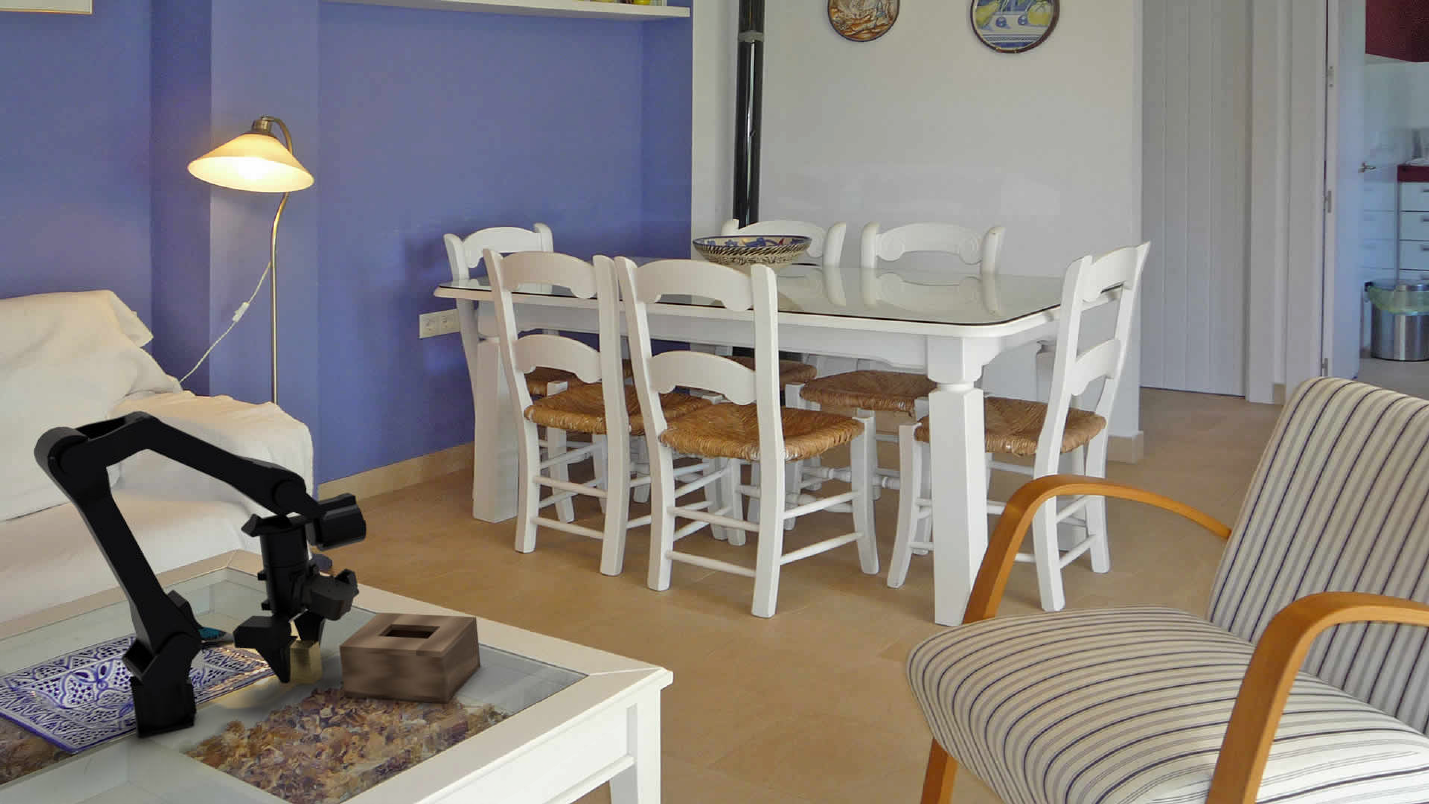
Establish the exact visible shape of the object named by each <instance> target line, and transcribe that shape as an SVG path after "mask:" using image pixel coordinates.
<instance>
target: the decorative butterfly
mask: <svg viewBox="0 0 1429 804" xmlns="http://www.w3.org/2000/svg"><path fill="white" fill-rule="evenodd" d="M209 613H210V612H206V613H205V615H207V614H209ZM201 616H203V614H202V615H200V617H201ZM198 617H199V615H198V616H196V618H198ZM203 627H204V629H202V630H198V631H199V632H200V635H201V638H202V642H212V643H213V642H230V641H231V642H232V641H233V633H231V632H227V631H225V630H223V629H217V628H213V627H208V626H203ZM233 642H234V641H233ZM204 667H205V658H204V654H203V650H202V648H201V647H200V650H199V652H198V654H197V655H196V657H195V658H194V659H193V660H192V664H191V668H192V669H198V670H203V669H204ZM191 668H190V669H191Z"/></svg>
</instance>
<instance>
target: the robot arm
mask: <svg viewBox="0 0 1429 804" xmlns="http://www.w3.org/2000/svg"><path fill="white" fill-rule="evenodd" d="M146 450H149V451H151V452H154V453H156V454H158V455H160V456H163V457H165V458H168V459H170V460H172V461H174V462H177V463H179V464H182V465H184V466H187V467H189V468H191V469H194V470H195V471H198V472H200V473H203V474H204V475H207V476H210V477H212V478H214V479H216V480H219V481H221V482H224V483H225V484H226V485H228V486H229V487H231V488H232V489H234V490H235V491H237V492H238V493H240V494H241V495H243V496H244V497H246V498H247V499H248V500H250V501H251V502H253V503H255V504H256V505H258V506H260V507H261V508H263V509H265V510H267V511H269V512H271V513H272V514H274V515H269V516H265V517H262V516H260V515H259V514H257V513H251V516H250V518H249V519H248V520H247V521H246V522H245V523H244V524H243V525H241V528H240V530H241V533H243V534H245V535H247V536H249V537H250V538H257V537H259V542H260V543H259V544H260V551H261V559H262V567H263V569H261V570H260V571H258V572H257V573H256V575H257V581H259V582H264V583H265V584H264V585H265V591H266V599H265V600H263V601H262V602H260V606H261V611H263V612H264V611H265V612H268V611H269V612H271V615H270V616H269V615H252V616H250V617H249V618H247V619H246V620H245V621H243V622H242V623H240V624H239V625H237V626H236V628H235V629H233V631H232V633H231V634H233V646H234V648H235V649H252V650H255V651H256V652H257V653H258V655H260V656H261V658H262V659H263V660H264V661H265V663H266V664H267V666H268V667H269V668H270V670H272V672H273V674H274V675H275V676H276V678H277V679H278V681H279V680H280V681H281V682H280V683H282V684H289V683H290V677H291V662H290V646H291V645H292V644H293V643H294V642H295V640H298V638H299V640H307V641H319V649H321V643H322V637H323V633H324V629H325V623H326V621H327V620H328V621H331V622H333V621H334V622H337V621H339V620H341V618H342V617H343V616H344V615H345V614H347V613H349V612H350V611H351V610H352V607H353V606H352V605H353V601H354V598H355V597H357V596H358V595H359V594H360V589H359V588H358V587H359V585H358V581H357V576H356V572H355V571H354V570H351V569H349V568H344V569H343V570H342V571H340V572H339V573H338V574H337V575H336V576H335V575H334V574H329V575H323V574H321V573H320V566H319V564H317V561H310V556H309V547H308V544H309V546H311V547H316V549H317V550H319V552H326V551H330V550H334V549H338V548H339V549H340V548H341V547H342V548H343V547H346V546H350V545H353V544H354V545H355V544H357V543H361V542H364V541H365V540H366V537H367V532H368V531H367V521H366V520H365V519H364V514H363V512H362V510H361V508H360V507H359V504H358V503H357V497H356V496H357V495H354V494H353V493H351V492H345V493H340V494H338V495H337V496H333V497H330V498H329V497H328V498H325V499H321V500H316V499H314V498H313V497H312V496H311V495H310V494H309V493H308V492H307V490H308V489H307V485H306V480H305V479H304V478H303V476H301V474H298V473H297V472H295V471H293V470H291V469H289V468H287V467H284V466H282V465H280V464H277V463H274V462H269V461H267V460H262V459H257V458H253V457H249V456H244V455H238V454H235V453H232V452H230V451H228V450H226V449H223V448H222V447H219V446H217V445H214V444H212V443H210V442H208V441H205V440H203V439H201V438H199V437H197V436H195V435H192V434H190V433H188V432H186V431H183V430H182V429H179V428H176V427H174V426H172V425H170V424H168V423H165V422H163V421H162V420H161V419H160V418H158V417H156V416H154V415H152V414H150V413H148V412H146V411H143V410H135V411H132V412H130V413H128V414H125V415H121V416H118V417H114V418H110V419H105V420H100V421H99V420H98V421H96V422H90V423H87V424H83V425H81V426H78V427H73V428H72V427H69V426H55V427H54V428H50V429H48V430H46V431H45V432H43V433H42V434H41V436H40V437H39V438H38V439H37V441H36V443H35V446H34V449H33V456H34V459H35V462H36V463H37V465H38V466H39V467H40V468H41V470H43V472H44V473H45V475H47V477H48V478H49V479H50V480H51V481H52V482H53V484H54V485H55V486H56V487H57V488H58V489H59V490H60V491H61V493H62V494H63V495H64V496H65V497H67V499H68V500H69V501H70V502H71V503H72V505H74V508H76V510H77V512H78V513H79V516H80V518H81V519H82V521H83V523H84V524H85V526H86V527H87V530H88V531H89V533H90V535H91V536H92V539H93V540H94V542H95V544H96V546H97V547H98V549H99V551H100V552H101V554H102V556H103V558H104V560H105V561H106V563H107V565H108V567H109V568H110V571H111V573H112V574H113V576H114V578H115V580H116V581H117V584H118V585H119V587H120V588H121V590H122V591H123V594H124V595H125V598H126V599H127V601H128V605H129V611H130V617H131V623H132V625H133V629H134V631H135V635H136V637H135V639H134V640H133V641H132V643H131V644H130V645H129V647H128V648H127V649H126V651H124V653H123V654H122V656H121V658H120V660H121V662H122V664H123V665H124V667H125V668H126V670H127V671H128V672H129V673H131V674H132V675H131V676H129V685H130V690H131V692H130V693H131V696H132V697H131V698H132V703H133V709H134V721H135V730H136V737H137V738H145V737H149V736H153V735H157V734H161V733H166V732H170V731H174V730H179V729H182V728H187V727H191V726H194V725H195V719H194V716H195V715H196V714H197V713H198V712H197V711H198V710H197V704H196V699H195V690H194V685H193V680H192V677H191V676H190V673H191V664H192V660H193V659H194V658H195V657H196V655H197V654H198V652H199V650H200V647H201V646H202V645H203V641H202V638H201V635H200V632H199V631H198V630H202V629H204V627H205V626H204V625H202V624H201V623H199V622H198V621H197V619H196V616H195V615H194V612H193V609H192V605H191V604H190V602H189V600H188V599H186V598H185V597H183V596H182V595H181V594H180V592H179V593H178V591H176V590H175V589H172V590H170V591H169V592H168V593H166V592H165V591H164V589H163V587H162V586H161V583H160V581H159V580H158V578H157V576H156V574H155V573H154V571H153V569H152V567H151V565H150V564H149V561H148V560H147V558H146V556H145V554H144V553H143V551H142V549H141V547H140V545H139V543H138V541H137V540H136V538H135V536H134V534H133V532H132V530H131V528H130V527H129V525H128V523H127V522H126V519H125V517H124V515H123V513H122V512H121V510H120V508H119V506H118V505H117V503H116V501H115V500H114V497H113V493H112V490H111V489H112V488H111V482H110V477H109V476H110V475H109V472H108V468H109V467H111V466H115V465H117V464H118V463H120V462H122V461H124V460H126V459H129V457H132V456H134V455H135V454H137V453H139V452H142V451H146ZM293 513H294V514H297V515H294V516H288V515H289V514H293ZM291 622H293V623H294V626H295V630H296V631H297V634H298V635H292V633H293V630H292V624H291Z"/></svg>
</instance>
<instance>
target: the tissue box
mask: <svg viewBox="0 0 1429 804" xmlns="http://www.w3.org/2000/svg"><path fill="white" fill-rule="evenodd" d="M338 647H339V655H340V664H341V673H342V681H343V690H344V697H345V698H356V699H357V698H358V699H359V698H360V699H373V700H375V699H376V700H391V701H404V702H406V701H407V702H408V701H409V702H423V703H436V704H437V703H439V704H447V703H449V701H451V699H452V698H453V697H454V696H455V695H456V694H457V693H458V691H460V689H461V688H462V687H463V686H464V685H465V684H466V683H467V681H468V680H469V679H470V678H471V677H472V676H473V675H474V674H475V673H476V672H477V671H478V670H479V668H480V667H481V666H482V665H481V656H480V645H479V634H478V622H477V616H464V615H463V616H460V615H459V616H457V615H438V614H417V613H416V614H415V613H399V612H395V613H394V612H378V613H377V614H376V615H375V616H374V617H372V618H371V619H370V620H368V621H367V622H366V623H365V624H363V626H361V627H360V628H359V629H358V630H357V631H355V632H354V633H353V634H352V635H351V636H350V637H348V638H347V639H346V640H344V641H343V642H342V643H341V644H340V645H339V646H338Z"/></svg>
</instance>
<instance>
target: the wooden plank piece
mask: <svg viewBox="0 0 1429 804" xmlns="http://www.w3.org/2000/svg"><path fill="white" fill-rule="evenodd" d="M320 649H321V648H320ZM320 649H319V641H307V640H300V639H296V640H295V642H294V643H293V644H292V645H291V646H290V662H291V677H290V682H289V683H291V684H306V685H307V684H308V685H314V684H315V683H316V682H317V681H318V680H320V679H321V678H322V677H323V667H322V659H321V657H322V656H321V650H320ZM278 682H279V683H281V681H280V680H279V679H278Z"/></svg>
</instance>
